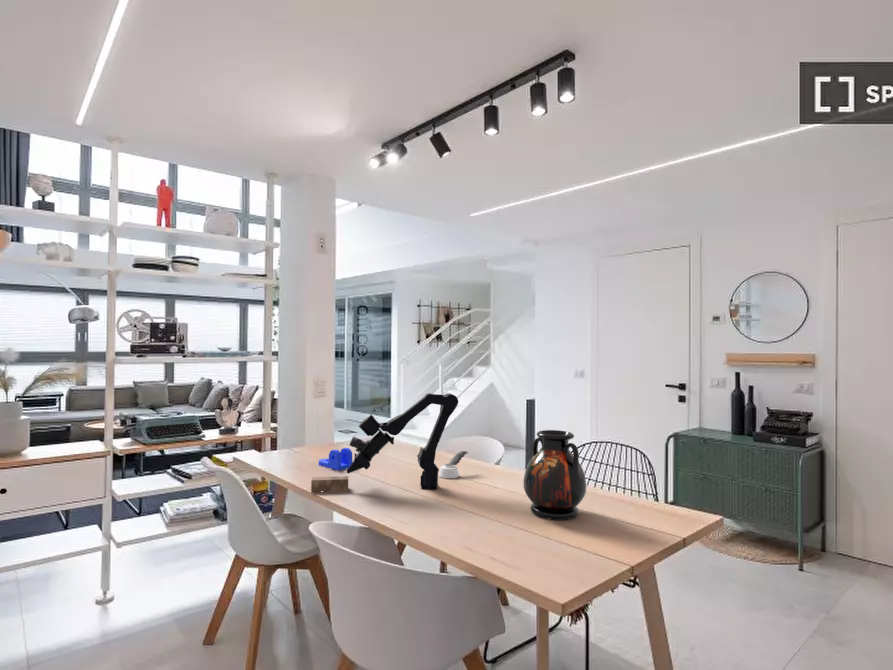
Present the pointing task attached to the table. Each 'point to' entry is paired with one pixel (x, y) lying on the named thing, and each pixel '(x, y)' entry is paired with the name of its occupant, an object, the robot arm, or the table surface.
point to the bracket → (338, 459)
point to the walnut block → (329, 484)
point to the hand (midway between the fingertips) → (347, 472)
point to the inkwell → (451, 466)
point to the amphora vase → (554, 476)
